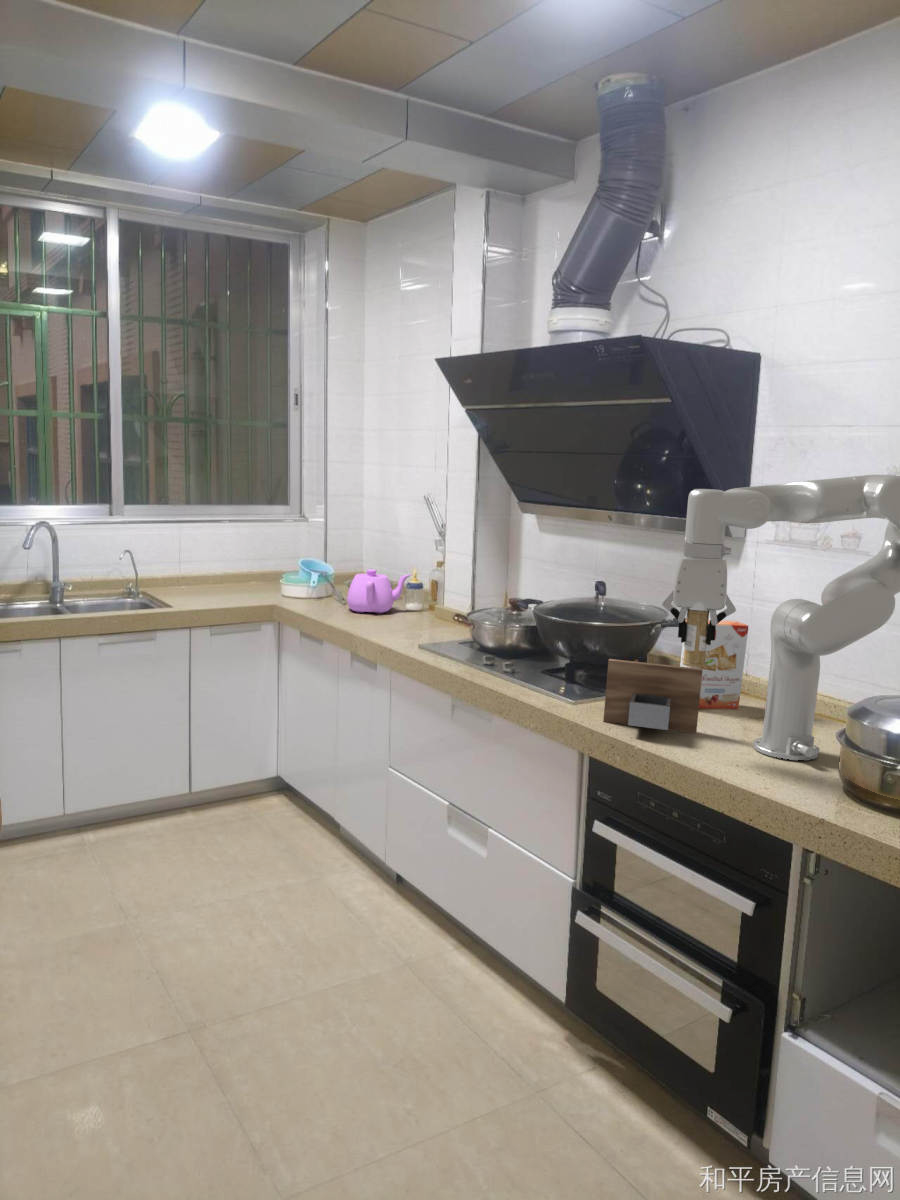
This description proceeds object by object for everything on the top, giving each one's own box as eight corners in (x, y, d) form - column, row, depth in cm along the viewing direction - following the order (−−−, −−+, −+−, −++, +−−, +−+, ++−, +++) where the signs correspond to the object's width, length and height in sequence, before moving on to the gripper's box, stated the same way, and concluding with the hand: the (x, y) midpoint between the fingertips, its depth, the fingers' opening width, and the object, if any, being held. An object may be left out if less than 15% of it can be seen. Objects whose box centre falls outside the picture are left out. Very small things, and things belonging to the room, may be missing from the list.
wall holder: (695, 745, 189) (702, 679, 187) (598, 732, 194) (604, 668, 192) (696, 731, 199) (702, 668, 197) (604, 719, 204) (609, 658, 202)
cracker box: (686, 710, 217) (694, 623, 213) (675, 703, 222) (683, 618, 219) (740, 709, 219) (749, 624, 216) (728, 703, 225) (736, 619, 222)
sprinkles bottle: (708, 668, 182) (714, 601, 180) (686, 667, 181) (691, 600, 179) (701, 663, 186) (706, 598, 184) (679, 662, 186) (684, 597, 184)
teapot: (344, 615, 317) (346, 572, 314) (348, 605, 337) (349, 565, 335) (410, 618, 318) (412, 576, 316) (409, 608, 339) (411, 568, 336)
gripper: (747, 553, 182) (738, 643, 184) (660, 547, 186) (653, 635, 189) (748, 556, 174) (740, 650, 177) (658, 550, 179) (651, 642, 182)
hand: (695, 641), depth 183 cm, fingers closed on sprinkles bottle, 4 cm apart
